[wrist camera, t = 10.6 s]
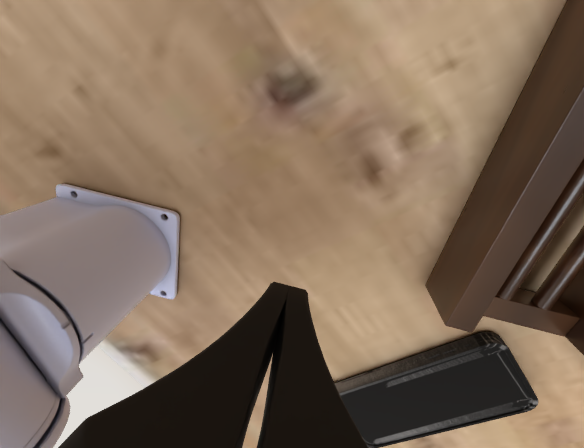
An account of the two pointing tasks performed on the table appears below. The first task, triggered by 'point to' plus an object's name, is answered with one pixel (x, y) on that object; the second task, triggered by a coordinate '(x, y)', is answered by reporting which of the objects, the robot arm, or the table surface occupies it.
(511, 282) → the rack
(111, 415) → the robot arm
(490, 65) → the table surface
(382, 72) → the table surface
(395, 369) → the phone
